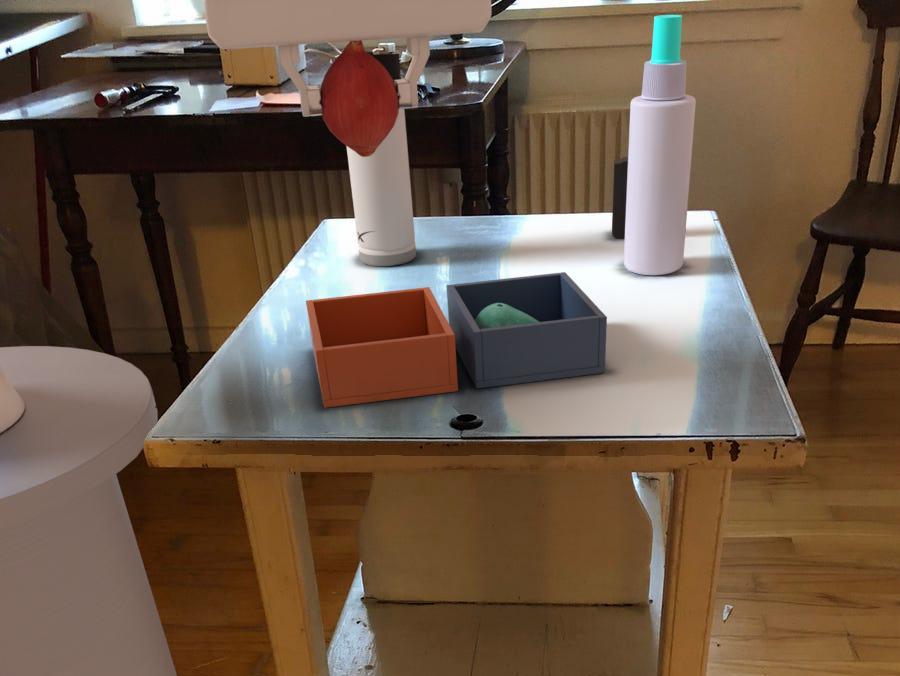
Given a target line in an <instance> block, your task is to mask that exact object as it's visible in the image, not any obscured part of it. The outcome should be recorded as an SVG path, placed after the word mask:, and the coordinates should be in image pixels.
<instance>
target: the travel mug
mask: <svg viewBox="0 0 900 676" xmlns="http://www.w3.org/2000/svg"><path fill="white" fill-rule="evenodd" d="M365 51H366V50H365ZM366 52H367V53H369V54H370V55H371V56H373V57H374V58H375V59H376V60H378V61H379V62H380V63H381V64H382V65H383V66H384V68H385V69H386V70H387V71H388V72H389V74H390V76H391V78H392V79H393V82H394V80H400V79H402V77H401V73H402V71H401V60H400V53H375V54H374V51H373V50H369V51H368V50H367V51H366ZM394 84H395V83H394ZM406 126H407V125H406V113H405V109H399V114H398V116H397V119H396V122H395V125H394V127H393V128H392V130H391V131H390V133H389V134H388V136H387V137H386V138H385V139H384V140H383V142H382V143H381V144H380V145H379V146H378V147H377V149H376V151H375V152H374V153H373V154H372V155H371V156H369V157H362V156H360V155H358V154H357V153H356V152H355V151H353V150H352V149H350V148H349V147H348V146H346V154H347V162H348V170H349V171H348V172H349V179H350V189H351V197H352V203H353V204H352V205H353V212H354V221H355V228H356V229H355V230H356V238H357V239H356V240H357V244H358V255H359V260H360V261H361V262H362V263H363V264H364V265H368V266H373V267H394V266H399V265H404V264H407V263H409V262H412V261H414V259H415V258H416V256H417V249H416V247H417V246H416V235H415V223H414V222H415V221H414V213H413V210H414V209H413V200H412V199H413V198H412V187H411V185H412V184H411V173H410V162H409V161H410V160H409V151H408V150H409V149H408V135H407V127H406Z"/></svg>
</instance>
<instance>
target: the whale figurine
mask: <svg viewBox="0 0 900 676" xmlns="http://www.w3.org/2000/svg"><path fill="white" fill-rule="evenodd" d="M475 322H476V324H477V326H478V327H479V329H486V328H495V327H503V326H512V325H520V324H529V323H537V322H539V321H537V320H536V319H534V318H533V317H531V316H529V315H527V314H525V313H523V312H521V311H519V310H517V309H515V308H513V307H511V306H509V305H507V304H503V303H495V304H492V305H489V306H487V307H486V308H484V309H483V310H482V311H481V312H480V313H479V314H478V316H477V318H476V320H475Z"/></svg>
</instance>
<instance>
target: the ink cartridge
mask: <svg viewBox="0 0 900 676" xmlns="http://www.w3.org/2000/svg"><path fill="white" fill-rule="evenodd" d="M627 174H628V156H623V157H621V158H617V159H614V161H613V183H612V184H613V185H612V187H613V188H612V215H611V236H612V237H613V238H614V239H617V240H622V239H623V240H625V221H626V198H627Z"/></svg>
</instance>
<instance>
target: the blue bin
mask: <svg viewBox="0 0 900 676" xmlns="http://www.w3.org/2000/svg"><path fill="white" fill-rule="evenodd" d="M446 300H447V314H448V315H447V316H448V323H449V325H450V327H451V329H452V331H453V333H454V335H455V349H456V352H457V354H458V355H459V357H460V359H461V361H462V364H463V365H464V367H465V369H466V370H467V373H468V374H469V377H470V378H471V381H472V382H473V384H474V386H475V388H476V389H486V388H493V387H501V386H509V385H517V384H524V383H532V382H540V381H541V382H542V381H548V380H557V379H566V378H574V377H582V376H589V375H590V376H591V375H596V374H605V372H606V357H607V356H606V354H607V353H606V352H607V325H608V322H607V321H608V317H607V316H606V314H605V313H604V312H603V311H602V310H601V309H600V308H599V307H598V306H597V304H596V303H594V302H593V300H592V299H591V298H590V297H589V296H588V295H587V294H586V293H585V292H584V291H583V290H582V289H581V287H580V286H578V284H577V283H576V282H575V281H574V280H573V279H572V277H571V276H569V275H568V273H566V272H565V271H562V272H553V273H544V274H543V273H542V274H533V275H527V276H517V277H516V276H515V277H508V278H507V277H506V278H499V279H491V280H480V281H471V282H463V283H454V284H447V285H446ZM495 303H503V304H507V305H509V306H511V307H513V308H515V309H517V310H519V311H521V312H523V313H525V314H527V315H529V316H531V317H533V318H534V319H536V320H537V321H539V322H537V323H529V324H520V325H512V326H503V327H495V328H486V329H479V327H478V326H477V324H476V322H475V320H476V318H477V316H478V314H479V313H480V312H481V311H482V310H483V309H484V308H486V307H487V306H489V305H492V304H495Z"/></svg>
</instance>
